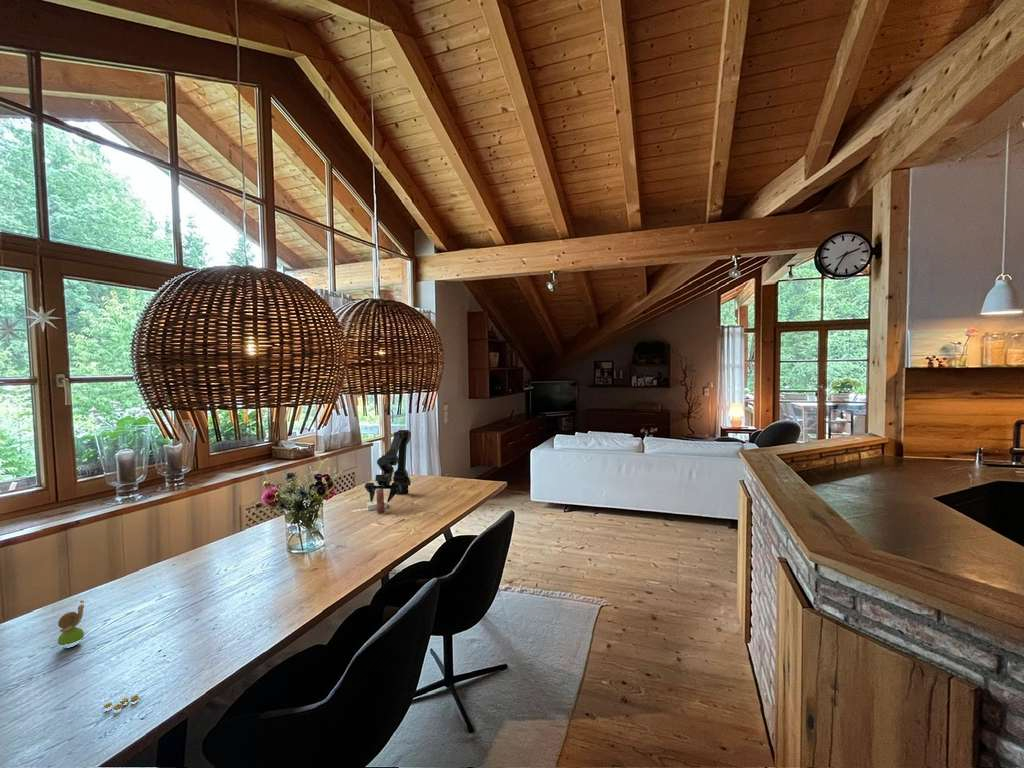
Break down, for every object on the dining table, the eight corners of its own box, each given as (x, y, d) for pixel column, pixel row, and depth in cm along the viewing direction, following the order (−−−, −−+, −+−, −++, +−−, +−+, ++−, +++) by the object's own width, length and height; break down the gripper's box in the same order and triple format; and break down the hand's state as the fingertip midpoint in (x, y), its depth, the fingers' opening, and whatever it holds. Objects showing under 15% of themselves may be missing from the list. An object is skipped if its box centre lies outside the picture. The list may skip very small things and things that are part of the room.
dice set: (140, 703, 108) (139, 695, 108) (115, 719, 104) (114, 711, 104) (127, 698, 110) (126, 690, 110) (102, 713, 105) (101, 706, 105)
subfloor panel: (384, 501, 257) (384, 499, 257) (388, 510, 241) (388, 508, 241) (349, 506, 250) (349, 504, 250) (351, 516, 234) (351, 513, 234)
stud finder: (385, 504, 248) (385, 499, 248) (387, 507, 242) (386, 502, 242) (366, 507, 244) (366, 502, 244) (367, 510, 239) (367, 505, 238)
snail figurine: (93, 639, 133) (90, 601, 133) (67, 653, 127) (64, 613, 126) (79, 637, 135) (76, 599, 134) (53, 651, 128) (49, 611, 128)
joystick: (385, 513, 238) (384, 488, 237) (386, 515, 233) (385, 490, 232) (375, 514, 236) (374, 489, 235) (376, 517, 231) (375, 491, 230)
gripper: (365, 467, 238) (357, 494, 228) (399, 467, 236) (392, 494, 226) (371, 478, 247) (364, 504, 236) (404, 478, 245) (398, 504, 234)
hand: (379, 501), depth 233 cm, fingers open, 9 cm apart
